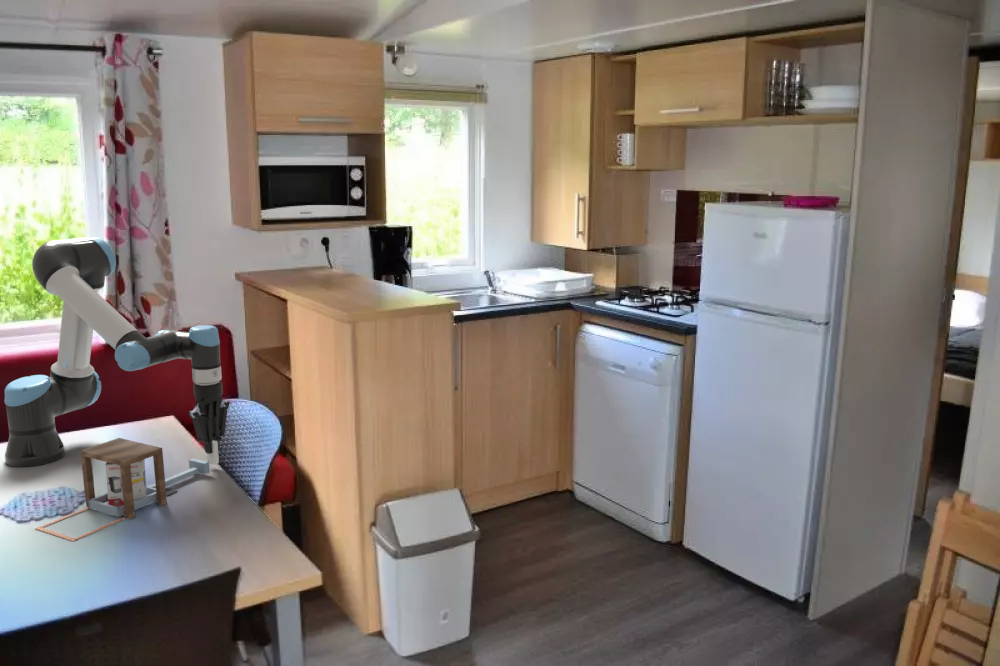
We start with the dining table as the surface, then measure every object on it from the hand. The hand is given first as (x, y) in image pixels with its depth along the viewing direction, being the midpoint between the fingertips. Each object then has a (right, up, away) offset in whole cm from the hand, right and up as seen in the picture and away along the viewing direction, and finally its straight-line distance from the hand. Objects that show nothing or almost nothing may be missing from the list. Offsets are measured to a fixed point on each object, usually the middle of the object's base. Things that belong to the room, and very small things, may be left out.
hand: (213, 462), depth 230 cm
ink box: (-13, -7, -24) cm, 28 cm away
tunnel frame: (-13, -7, -24) cm, 28 cm away
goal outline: (-19, -9, -35) cm, 41 cm away
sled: (-9, -5, -17) cm, 20 cm away
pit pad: (-9, -5, -16) cm, 19 cm away
